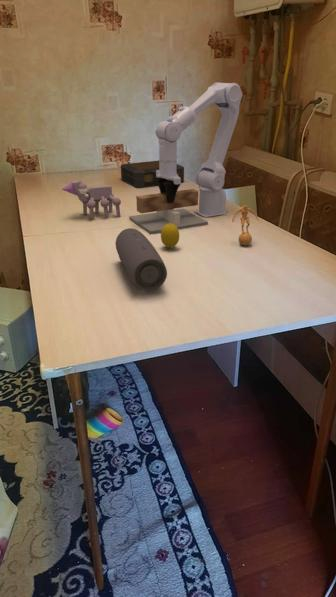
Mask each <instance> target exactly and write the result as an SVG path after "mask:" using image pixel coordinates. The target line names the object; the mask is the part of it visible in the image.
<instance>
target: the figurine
mask: <svg viewBox="0 0 336 597" xmlns="http://www.w3.org/2000/svg"><path fill="white" fill-rule="evenodd" d="M249 212H251V213H253V215H254V216H255V218H256V220H257V221H259V217H258V215H257V213H256V211H255V210H254V209H251V208H250V207H248V205H246V204H245V205H242V206H241V207H240V208H239V209H237V210H235V211H234V212H233V216H232V219H231V222H232V223H235V222H234V221H235V217H236V214H237V213H241V217H240V219H239V220H240V224H241V233H240V234H239V237H238V242H239V244H240V245H242V246H243V247H244V246H249V245H250V244H251V243H252V241H253V237H252V235H251V233H250V232H249V229H248V228H249V226H250V225H251V222H250V217H249V216H248V214H249ZM245 223H246V224H247V225H246V227H245V229H246V232H245V231H244V230H245V229H244V226H245Z"/></svg>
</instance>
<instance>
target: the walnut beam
mask: <svg viewBox="0 0 336 597" xmlns="http://www.w3.org/2000/svg"><path fill="white" fill-rule="evenodd" d="M195 206H199V190H197V189H195V188H191V189H190V188H189V189H184V190H177V192H176V196H175V200H174V203H168V202H167V195H166V193H160V192H159V193H151V194H145V195H136V212H138V213H140V214H149V213H156V212H157V211H162V210H169V209H174V210H176V209H183V208H187V207H188V208H189V207H195Z"/></svg>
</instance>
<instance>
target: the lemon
mask: <svg viewBox="0 0 336 597" xmlns="http://www.w3.org/2000/svg"><path fill="white" fill-rule="evenodd" d="M179 230H180V229H179ZM179 230H178V228H177V227H176V226H175V225H174V224H172V223H169V224H166V225H165V226H164V227H163V228H162V231H161V233H160V241H161V243H162V244H163V245H164V246H165V247H167V248H168V249H172V248H173V247H175V246H177V244H178V243H179V240H180V232H179Z"/></svg>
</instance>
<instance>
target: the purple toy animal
mask: <svg viewBox="0 0 336 597" xmlns="http://www.w3.org/2000/svg"><path fill="white" fill-rule="evenodd" d="M70 182H71V183H69V184H68V185H66V186H64V187H63V188H61V190H62V191H65V192H67V193H70V194H72V195H74V196H77V198H78V200H79V201H80V202H81V203H82V213H83V215H84V216H87V215H88V211H89V216H90V221H95V220H96V219H95V214H99V213H100V210H99V209H100V206H101V208H103V211H104V212H103V214H104V219H109V218H110V216H109V213H113V206H115V212H116V217H117V218H120V217H121V208H120V205H121V204H122V201H121V199H120V198H119V197H115V196H114V194H113V188H112V186H111V185H110V184H105V185H104V184H103V185H101V184H100V185H93V186H87V184H86V183H85V182H83V181H82V180H80V179H75V180H70ZM88 209H89V210H88ZM94 209H95V210H94Z"/></svg>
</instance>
